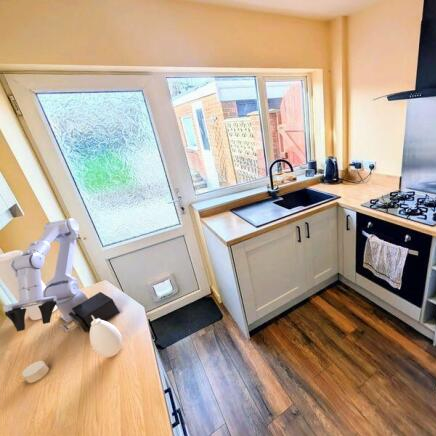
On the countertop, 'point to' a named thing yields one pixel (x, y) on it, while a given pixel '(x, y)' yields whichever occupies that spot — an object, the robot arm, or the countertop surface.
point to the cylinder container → (3, 270)
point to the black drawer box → (96, 309)
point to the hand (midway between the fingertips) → (34, 326)
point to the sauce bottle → (105, 338)
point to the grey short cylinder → (35, 371)
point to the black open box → (77, 322)
